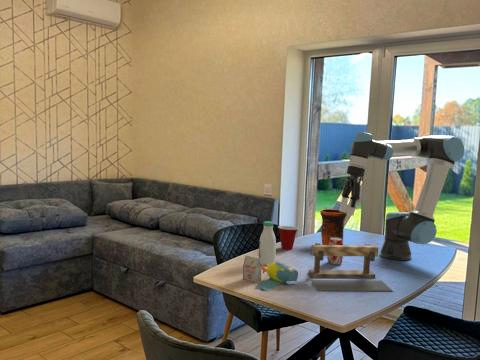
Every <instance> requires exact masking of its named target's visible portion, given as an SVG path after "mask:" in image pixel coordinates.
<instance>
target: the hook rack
mask: <svg viewBox="0 0 480 360" xmlns="http://www.w3.org/2000/svg"><path fill="white" fill-rule="evenodd" d="M321 244H322V243H320V242H318V243H316V242H315V244H314V245H321ZM364 246H372V245H371V244H370V243H364ZM324 257H325V256H324V251H318V256H314V263H313V265H314V266H313V269H308V275H309V276H310V277H311V278H331V279H332V278H336V279H337V278H341V279H343V278H344V279H345V278H346V279H347V278H349V279H350V278H351V279H352V278H353V279H355V278H356V279H361V278H362V279H376V274H375V273H374V272H373V271H372V270H370V266H371V265H370V264H371V262H375V259H376V257H375V251H370V256H363V269H362V270H361V269H357V270H356V269H321V261H324Z"/></svg>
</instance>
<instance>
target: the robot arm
mask: <svg viewBox="0 0 480 360" xmlns="http://www.w3.org/2000/svg"><path fill="white" fill-rule="evenodd" d="M373 138H374V135H373V134H372V133H368V132H364V131H357V132H356V133H355V135H354V140H353V142H352V143H351V145H350V147H349V152H350V157H348V160H349V161H348V166H347V170H346V174H347V175H349V176H347V177H346V181H345V184H344V185H343V186H344V187H343V189H342V192H341V196H342V198H341V201H340V206H339V209H338V210H339V211H341V212H345V211H346V210H347V211H346V212H347V216H348V215H349V216H354V214H355V210H356V206H357V203H358V202H357V201H359V200H360V194H361V193H360V192H361V182H362V178H363V177H364V176H365V172H366V169H365V168H367V164H368V159H374V160H375V159H377V160H380V161H385V162H386V161H389V160H390V159H392V157H393V156H394V157H395V156H396V157H397V156H410V157H412V158H415V157H416V158H424V159H428V161H429V163H430V164H429V168H428V170H427V172H426V173H427V174H426V177H425V179H424V182H423V184H422V188H421V191H420V193H419V196H418V199H417V202H416V204H415V208H414V209H413V210H411V211H408V212H407V211H392V212H387V214H386V216H385V226H384V241H383V244H382V246H381V248H380V250H379V251H380V252H379V253H380V254H379V255H380V256H381V257H382V258H385V259H387V260H394V261H408V260H412V251H411V247H410V242H411V243H414V244H416V245H428V244H429V243H431V242H433V241H434V239H435V238H436V235H437V225H436V224H435V221H436V219H435V217H434V213H435V211H436V208H437V204H438V202H439V200H440V199H439V198H440V196H441V193H442V190H443V188H444V186H445V182H446V179H447V176H448V173H449V170H450V169H451V168H453V167H455V163H456V162H458V161H460V160H461V159H463V157H464V154H465V145H464V143H463V141H462V140H461V138H459V136H458V137H457V136H453V135H427V136H420V137H412V138H410V139H401V140H394V139H393V140H374V139H373ZM350 194H351V195H350ZM348 202H349V204H348ZM347 206H348V208H347Z"/></svg>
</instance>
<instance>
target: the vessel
mask: <svg viewBox="0 0 480 360" xmlns="http://www.w3.org/2000/svg"><path fill="white" fill-rule="evenodd" d="M319 213H320V216H321V220H322V221H321V231H320V233H321V236H320V237H321V243H320V244H321V245H328V242H329V240H330V238H332V237H337V238H341V239H342V241H343V242H344V228H345V227H344V226H345V224H344V222H345V221H346V217H347V216H348V214H347V211H345V212H341V211H339V209H335V208H324V209H320V212H319Z"/></svg>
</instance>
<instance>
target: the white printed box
mask: <svg viewBox="0 0 480 360" xmlns="http://www.w3.org/2000/svg"><path fill="white" fill-rule="evenodd" d="M261 266H262V265H261V264H260V260H259V257H255V256H251V255H247V254H246V255H245V257H244V261H243V265H242V280H243V281H247V282H250V283H255V284H257V283H259V282H262V268H261Z"/></svg>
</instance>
